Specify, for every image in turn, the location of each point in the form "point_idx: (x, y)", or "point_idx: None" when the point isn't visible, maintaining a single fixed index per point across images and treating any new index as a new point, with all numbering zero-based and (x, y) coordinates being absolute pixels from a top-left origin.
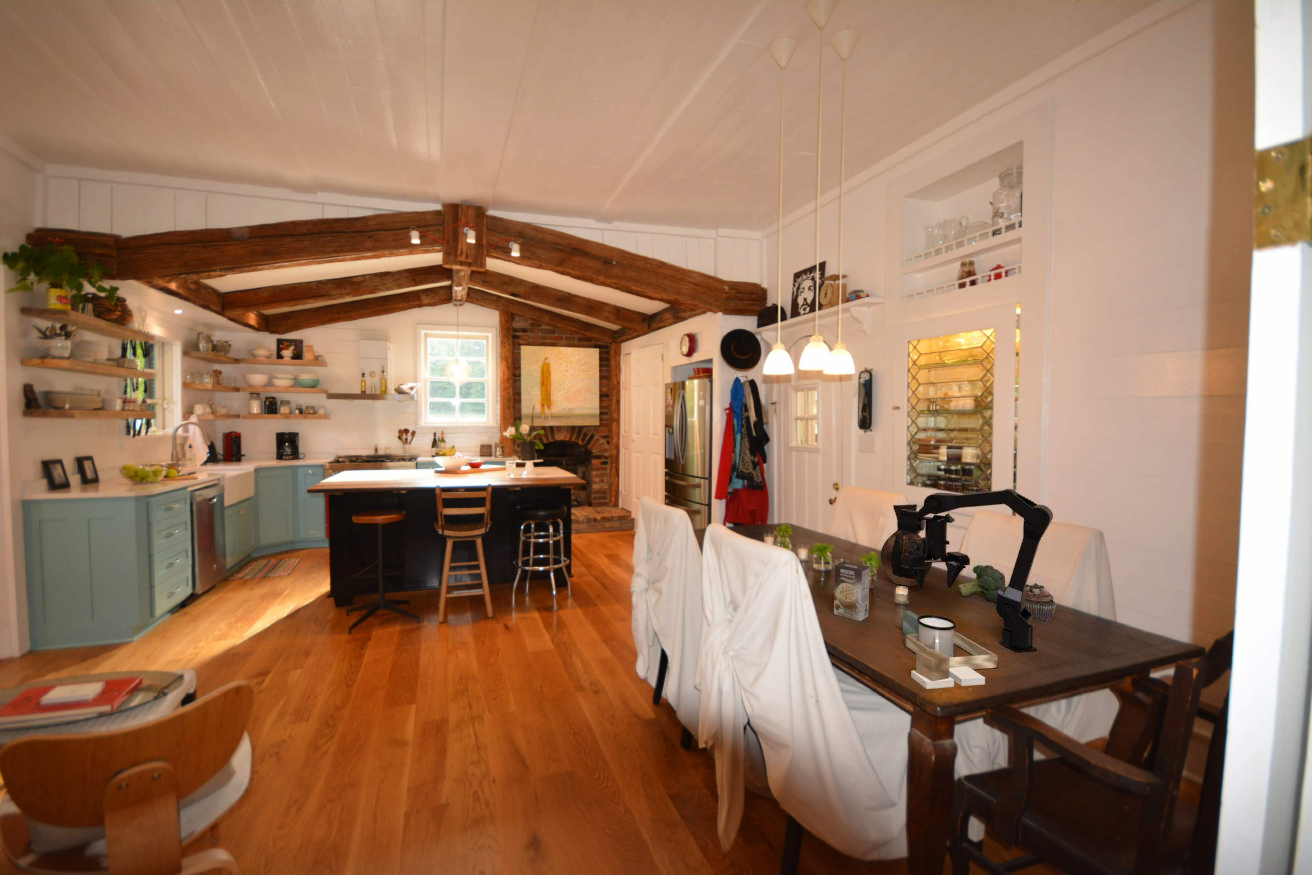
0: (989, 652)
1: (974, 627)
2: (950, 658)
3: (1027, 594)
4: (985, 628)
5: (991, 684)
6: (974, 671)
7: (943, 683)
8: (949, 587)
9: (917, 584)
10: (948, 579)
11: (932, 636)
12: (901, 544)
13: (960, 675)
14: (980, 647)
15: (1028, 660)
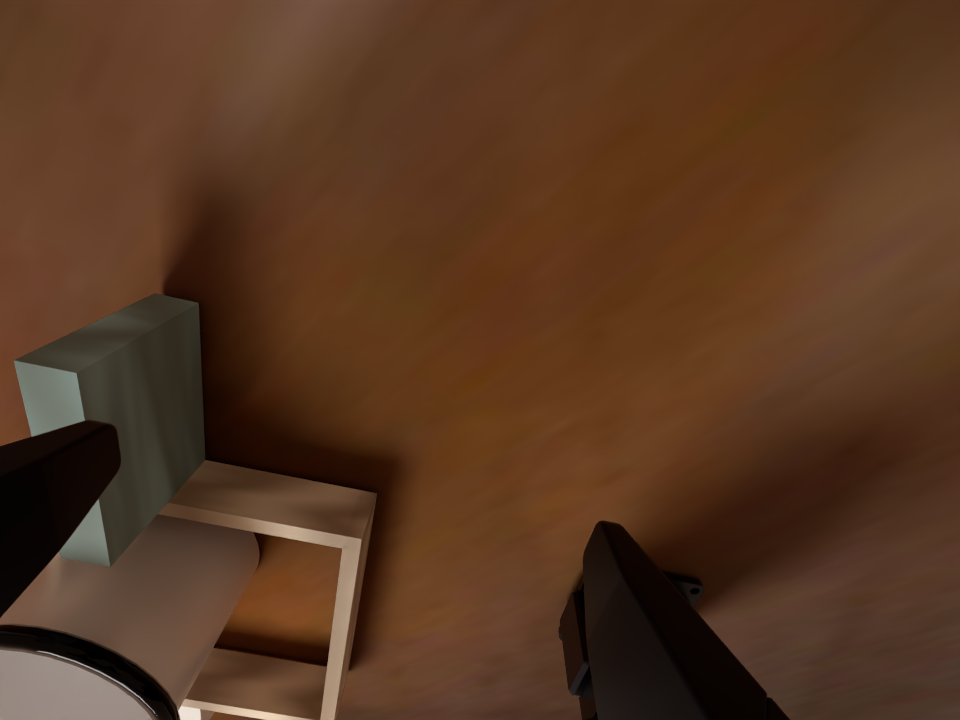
0: (325, 709)
1: (704, 380)
2: None
3: None
4: (747, 415)
5: (235, 715)
6: (196, 708)
7: None
8: (584, 559)
9: (11, 449)
10: (631, 649)
11: (43, 675)
12: None
13: None
14: (328, 676)
15: (528, 674)
